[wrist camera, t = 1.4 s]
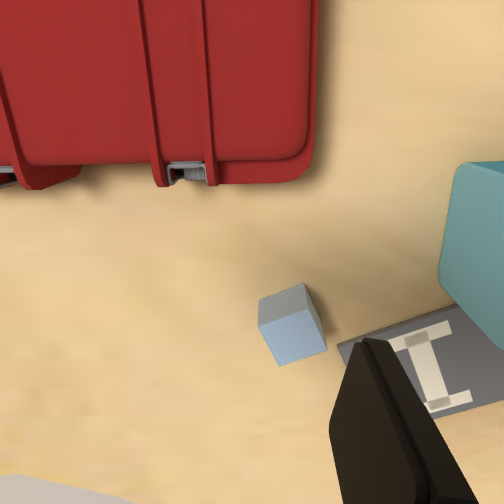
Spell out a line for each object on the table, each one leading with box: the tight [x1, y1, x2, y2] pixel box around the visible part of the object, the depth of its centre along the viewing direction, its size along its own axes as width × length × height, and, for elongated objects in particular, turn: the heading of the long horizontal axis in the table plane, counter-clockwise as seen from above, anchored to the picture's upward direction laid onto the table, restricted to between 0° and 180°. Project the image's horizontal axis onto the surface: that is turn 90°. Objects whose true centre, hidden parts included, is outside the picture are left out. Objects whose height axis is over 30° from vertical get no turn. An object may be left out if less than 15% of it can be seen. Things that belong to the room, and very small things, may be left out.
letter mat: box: [337, 304, 504, 419], centre depth 40 cm, size 16×14×1 cm
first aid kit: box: [0, 0, 319, 190], centre depth 25 cm, size 32×23×9 cm
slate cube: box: [258, 283, 328, 366], centre depth 36 cm, size 5×5×5 cm
